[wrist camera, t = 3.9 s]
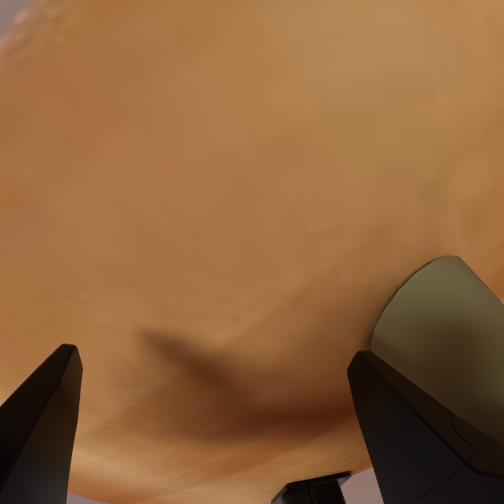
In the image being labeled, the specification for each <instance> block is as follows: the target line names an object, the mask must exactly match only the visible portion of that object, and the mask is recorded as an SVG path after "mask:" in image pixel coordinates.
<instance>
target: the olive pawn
mask: <svg viewBox="0 0 504 504" xmlns="http://www.w3.org/2000/svg"><path fill="white" fill-rule="evenodd" d="M370 345H371V350H372V352H373V353H374V354H375V355H377V356H378V357H379V358H381V359H382V360H383V361H385V362H386V363H387V364H389V365H390V366H391V367H393V368H394V369H395V370H397V371H398V372H399V373H401V374H402V375H403V376H405V377H406V378H407V379H409V380H410V381H412V382H413V383H414V384H416V385H417V386H418V387H420V388H421V389H422V390H424V391H425V392H426V393H428V394H429V395H430V396H432V397H433V398H434V399H436V400H437V401H438V402H440V403H441V404H443V405H444V406H445V407H447V408H448V409H449V410H451V411H452V412H453V413H455V414H456V415H457V416H459V417H460V418H462V419H463V420H465V421H466V422H467V423H469V424H470V425H472V426H474V427H475V428H477V429H478V430H480V431H482V432H483V433H485V434H487V435H488V436H490V437H492V438H493V439H495V440H497V441H498V442H500V443H502V444H504V305H503V304H502V303H501V301H500V300H499V299H498V298H497V297H496V296H495V295H494V293H493V292H492V291H491V290H490V289H489V288H488V287H487V286H486V284H485V283H484V282H483V281H482V280H481V279H480V278H479V277H478V276H477V275H476V274H475V273H474V272H473V271H472V269H471V268H470V267H469V266H468V265H467V264H466V263H465V262H464V261H463V260H462V259H461V258H460V257H457V256H445V257H442V258H440V259H437V260H434V261H432V262H431V263H430V264H428V265H427V266H425V267H424V268H422V269H421V270H419V271H418V272H417V273H415V274H414V275H413V276H412V277H411V278H410V279H409V280H408V281H407V282H406V283H405V284H404V285H403V286H402V287H401V288H400V289H399V290H398V292H397V293H396V295H395V296H394V297H393V299H392V300H391V301H390V303H389V304H388V305H387V307H386V308H385V309H384V311H383V313H382V315H381V317H380V319H379V321H378V323H377V324H376V326H375V328H374V332H373V336H372V340H371V344H370Z"/></svg>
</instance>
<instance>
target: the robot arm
mask: <svg viewBox="0 0 504 504" xmlns="http://www.w3.org/2000/svg"><path fill="white" fill-rule="evenodd" d="M82 372H83V367H82V362H81V359H80V355H79V351H78V348H77V346H76V345H72V344H65V343H64V344H62V345H60V346H59V347H58V348H57V349H56V350H55V351H54V352H53V353H52V354H51V355H50V356H49V357H48V358H47V359H46V360H45V361H44V362H43V363H42V364H41V365H40V366H39V367H38V368H37V369H36V370H35V371H34V372H33V373H32V374H31V375H30V376H29V377H28V378H27V379H26V380H25V381H24V382H23V383H22V384H21V385H20V386H19V387H18V388H17V390H16V391H15V392H14V393H13V394H12V395H11V396H10V397H9V398H8V399H7V400H6V401H5V402H4V403H3V404H2V405H1V406H0V504H66V500H67V490H68V481H69V472H70V465H71V458H72V451H73V445H74V439H75V433H76V428H77V422H78V413H79V401H80V391H81V381H82ZM347 375H348V380H349V384H350V389H351V393H352V398H353V403H354V407H355V411H356V415H357V419H358V422H359V425H360V428H361V431H362V434H363V437H364V440H365V443H366V446H367V450H368V453H369V456H370V459H371V462H372V465H373V469H374V472H375V475H376V479H377V482H378V485H379V489H380V492H381V495H382V498H383V502H384V504H504V444H502V443H500V442H498V441H497V440H495V439H493V438H492V437H490V436H488V435H487V434H485V433H483V432H482V431H480V430H478V429H477V428H475V427H474V426H472V425H470V424H469V423H467V422H466V421H465V420H463V419H462V418H460V417H459V416H457V415H456V414H455V413H453V412H452V411H451V410H449V409H448V408H447V407H445V406H444V405H443V404H441V403H440V402H438V401H437V400H436V399H434V398H433V397H432V396H430V395H429V394H428V393H426V392H425V391H424V390H422V389H421V388H420V387H418V386H417V385H416V384H414V383H413V382H412V381H410V380H409V379H407V378H406V377H405V376H403V375H402V374H401V373H399V372H398V371H397V370H395V369H394V368H393V367H391V366H390V365H389V364H387V363H386V362H385V361H383V360H382V359H381V358H379V357H378V356H377V355H375V354H374V353H373V352H371V351H369V350H363V351H358V352H357V353H356V354H355V356H354V358H353V359H352V361H351V363H350V365H349V367H348V370H347ZM350 477H351V474H350V473H345V474H341V475H336V476H332V477H327V478H322V479H317V480H312V481H307V482H301V483H295V484H290V485H287V486H285V487H284V488H283V490H282V491H281V492H280V493H279V494H278V495H277V496H276V497H275V498H274V499H273V500H272V501H271V504H346V502H345V499H344V496H343V494H342V491H341V488H340V486H341V485H342V484H343V483H344V482H346V481H347V480H348V479H349V478H350Z"/></svg>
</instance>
